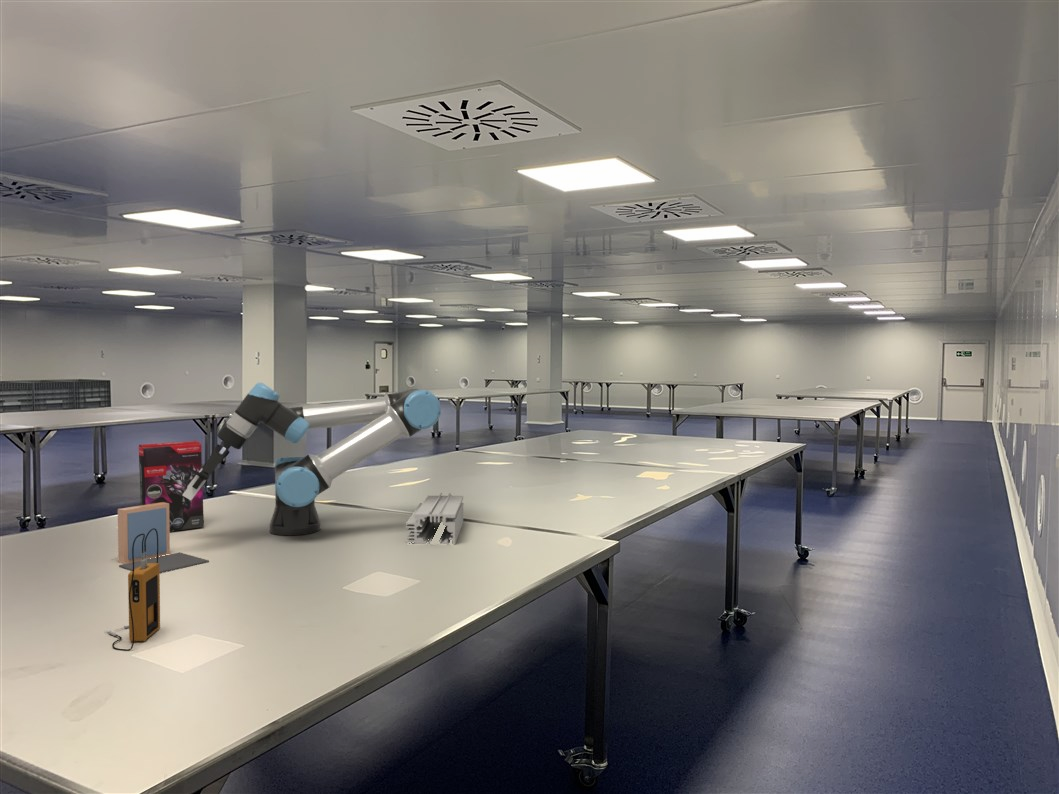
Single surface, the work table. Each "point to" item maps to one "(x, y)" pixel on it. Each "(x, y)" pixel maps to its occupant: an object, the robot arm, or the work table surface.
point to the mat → (169, 562)
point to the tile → (143, 531)
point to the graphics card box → (172, 481)
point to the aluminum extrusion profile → (427, 517)
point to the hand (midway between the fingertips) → (188, 493)
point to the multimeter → (143, 598)
